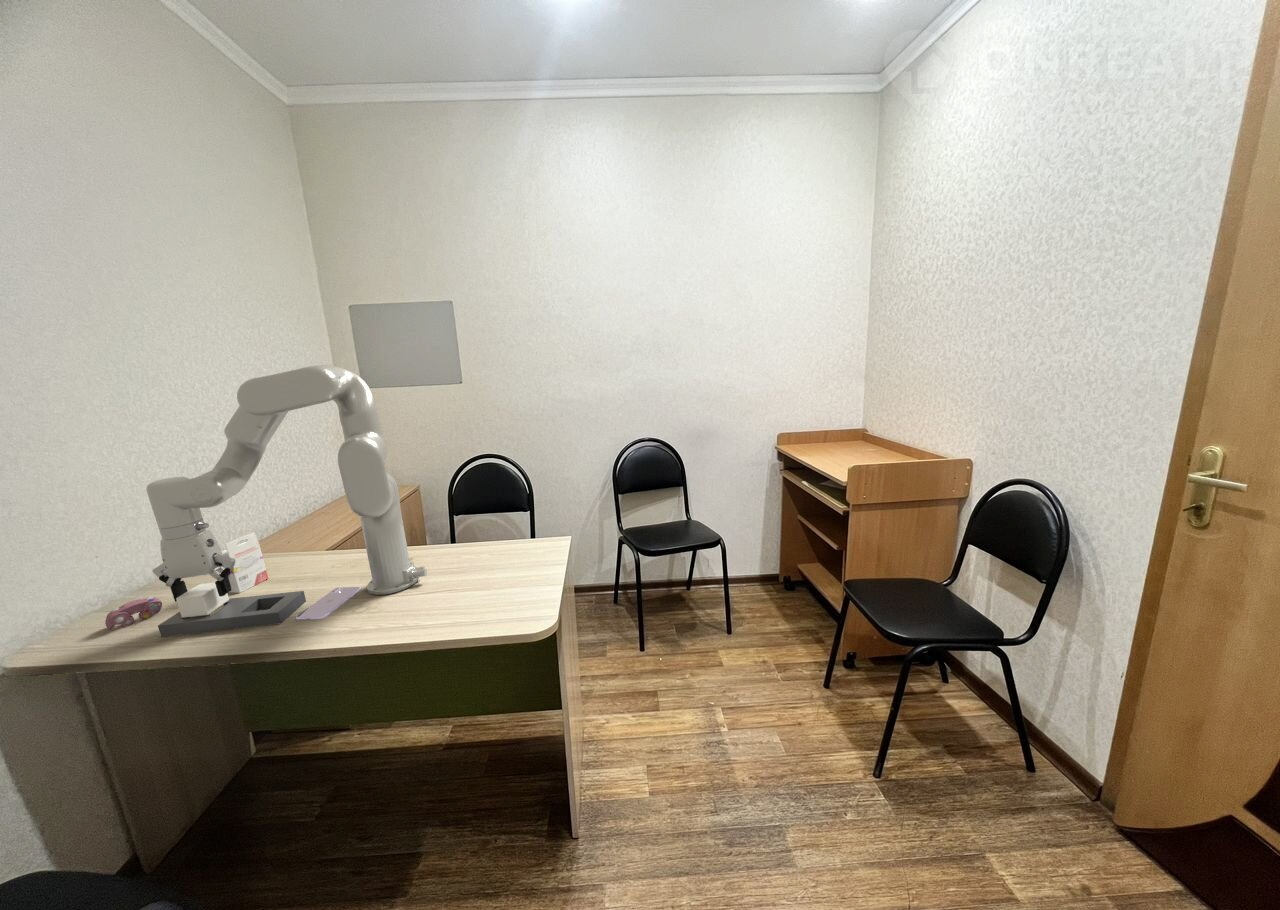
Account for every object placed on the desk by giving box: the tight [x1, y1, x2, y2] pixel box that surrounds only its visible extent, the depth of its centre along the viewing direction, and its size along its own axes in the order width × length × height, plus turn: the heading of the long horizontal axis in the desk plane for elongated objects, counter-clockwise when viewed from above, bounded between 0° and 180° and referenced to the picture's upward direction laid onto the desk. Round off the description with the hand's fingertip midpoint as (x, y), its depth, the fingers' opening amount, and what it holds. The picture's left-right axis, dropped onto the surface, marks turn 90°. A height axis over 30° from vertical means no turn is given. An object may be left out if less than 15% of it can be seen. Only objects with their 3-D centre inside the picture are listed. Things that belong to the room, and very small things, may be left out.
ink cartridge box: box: [221, 532, 269, 594], centre depth 131 cm, size 9×5×15 cm, turn 168°
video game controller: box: [104, 596, 163, 630], centre depth 116 cm, size 10×5×7 cm, turn 149°
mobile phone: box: [295, 586, 362, 621], centre depth 120 cm, size 8×1×15 cm
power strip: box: [157, 590, 307, 638], centre depth 115 cm, size 26×10×4 cm, turn 97°
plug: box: [176, 582, 230, 618], centre depth 113 cm, size 6×7×8 cm
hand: (204, 596), depth 113 cm, fingers open, 9 cm apart
